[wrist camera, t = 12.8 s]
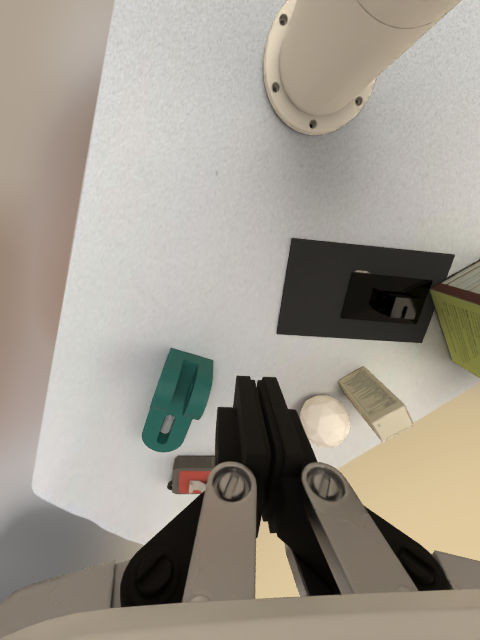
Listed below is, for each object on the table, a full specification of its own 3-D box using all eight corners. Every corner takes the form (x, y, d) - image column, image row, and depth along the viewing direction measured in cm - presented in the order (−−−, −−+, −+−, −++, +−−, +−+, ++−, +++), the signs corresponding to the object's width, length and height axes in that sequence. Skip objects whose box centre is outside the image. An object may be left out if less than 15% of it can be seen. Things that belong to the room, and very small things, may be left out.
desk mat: (291, 238, 35) (292, 238, 35) (453, 254, 38) (455, 254, 37) (276, 333, 40) (276, 334, 40) (420, 342, 43) (422, 343, 42)
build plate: (339, 317, 40) (353, 329, 35) (351, 269, 37) (369, 275, 33) (415, 323, 41) (438, 336, 37) (432, 277, 38) (458, 285, 34)
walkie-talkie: (168, 488, 50) (271, 488, 52) (164, 512, 46) (276, 511, 48) (168, 454, 47) (277, 454, 49) (163, 476, 43) (283, 476, 45)
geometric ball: (299, 397, 48) (283, 416, 41) (339, 381, 44) (328, 399, 37) (320, 436, 47) (307, 462, 40) (363, 424, 43) (356, 450, 36)
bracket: (170, 347, 40) (160, 376, 32) (213, 360, 41) (212, 391, 34) (141, 436, 45) (125, 478, 38) (179, 445, 46) (171, 487, 39)
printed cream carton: (347, 397, 45) (380, 444, 36) (337, 380, 44) (369, 423, 35) (374, 383, 45) (415, 426, 35) (365, 364, 43) (405, 404, 34)
